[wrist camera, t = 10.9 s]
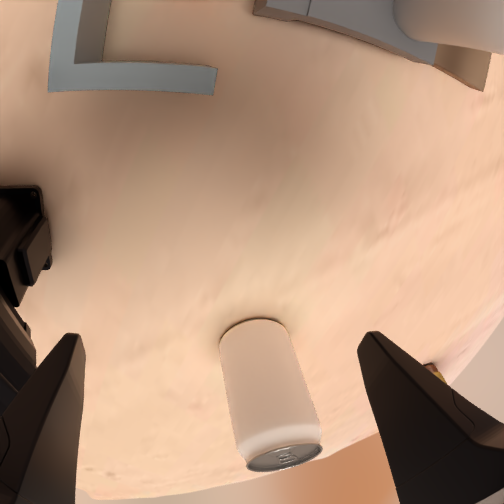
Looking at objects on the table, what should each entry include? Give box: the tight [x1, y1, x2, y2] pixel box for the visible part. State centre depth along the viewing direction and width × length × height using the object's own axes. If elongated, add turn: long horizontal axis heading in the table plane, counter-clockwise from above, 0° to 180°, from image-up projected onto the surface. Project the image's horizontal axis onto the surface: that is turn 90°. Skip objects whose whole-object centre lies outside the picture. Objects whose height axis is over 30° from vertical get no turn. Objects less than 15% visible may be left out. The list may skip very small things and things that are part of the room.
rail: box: [431, 43, 492, 92], centre depth 16 cm, size 10×4×1 cm, turn 80°
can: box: [219, 319, 323, 472], centre depth 24 cm, size 6×6×12 cm
